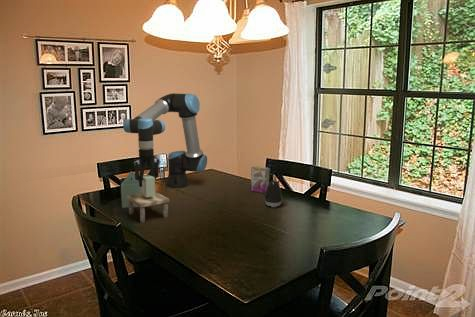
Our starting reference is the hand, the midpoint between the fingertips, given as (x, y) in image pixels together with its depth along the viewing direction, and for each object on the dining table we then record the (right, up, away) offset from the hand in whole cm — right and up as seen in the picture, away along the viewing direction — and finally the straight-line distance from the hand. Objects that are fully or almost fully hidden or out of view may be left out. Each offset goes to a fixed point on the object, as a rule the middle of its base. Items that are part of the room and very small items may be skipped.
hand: (147, 191), depth 214 cm
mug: (-17, -7, +30) cm, 36 cm away
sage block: (0, -2, 0) cm, 2 cm away
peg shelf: (0, -13, +3) cm, 13 cm away
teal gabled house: (-10, -10, +20) cm, 24 cm away
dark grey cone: (+68, -10, +21) cm, 72 cm away
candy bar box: (+62, -4, +49) cm, 79 cm away
